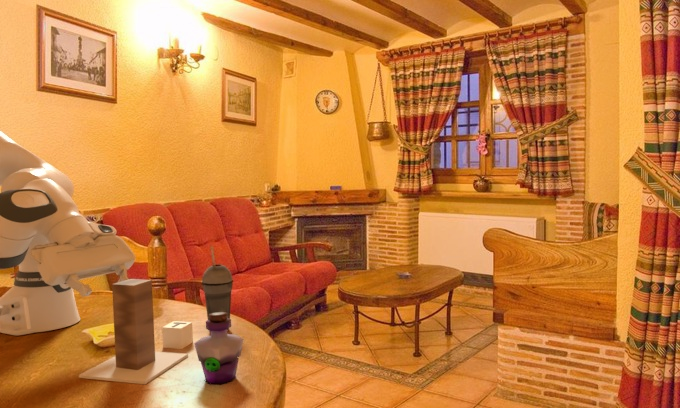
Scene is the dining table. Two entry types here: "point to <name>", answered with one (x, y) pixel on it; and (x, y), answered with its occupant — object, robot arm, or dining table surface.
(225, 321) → the potion bottle
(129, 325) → the walnut block
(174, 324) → the letter cube
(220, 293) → the beverage cup
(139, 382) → the white square plate
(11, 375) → the dining table surface
